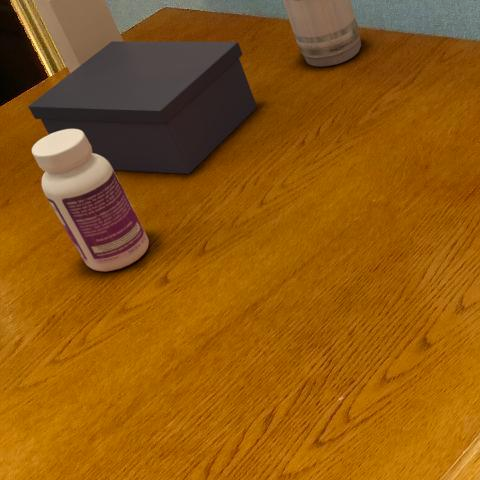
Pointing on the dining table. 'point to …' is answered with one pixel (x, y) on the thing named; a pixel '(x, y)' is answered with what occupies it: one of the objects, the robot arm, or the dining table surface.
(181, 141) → the storage box
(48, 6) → the cream box
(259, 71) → the dining table surface
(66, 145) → the pill bottle
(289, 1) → the camera lens
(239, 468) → the dining table surface
